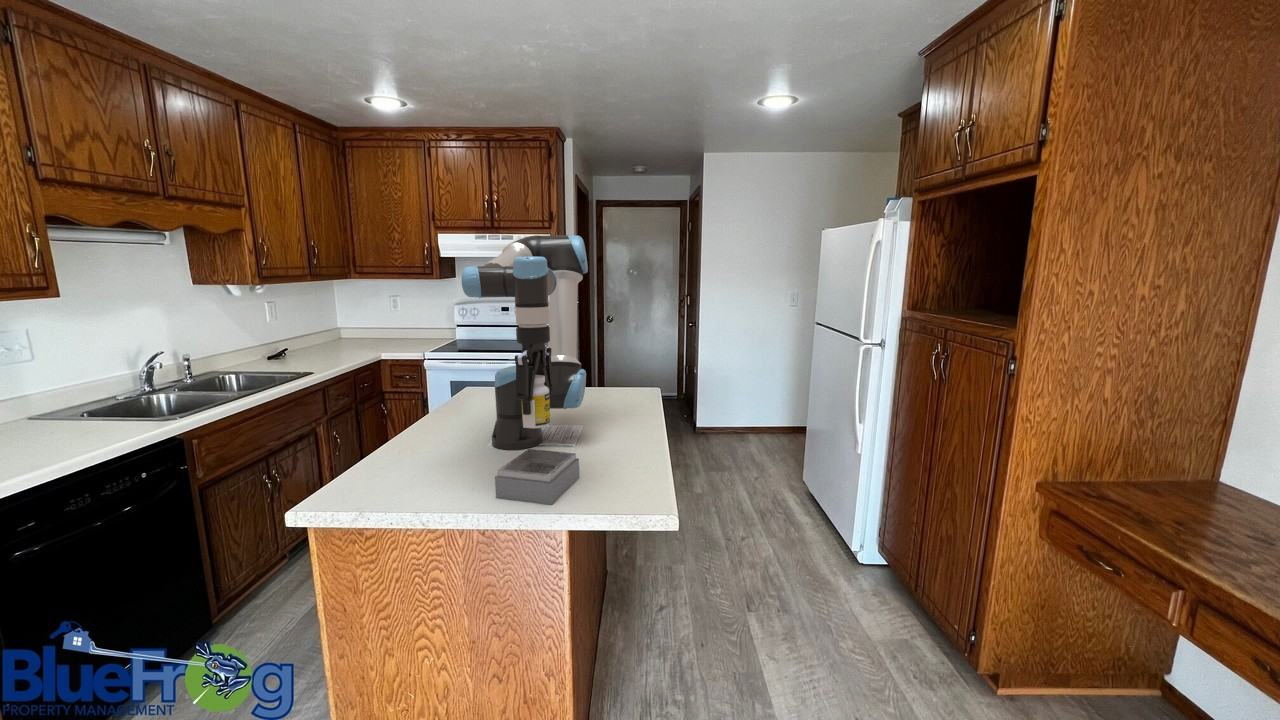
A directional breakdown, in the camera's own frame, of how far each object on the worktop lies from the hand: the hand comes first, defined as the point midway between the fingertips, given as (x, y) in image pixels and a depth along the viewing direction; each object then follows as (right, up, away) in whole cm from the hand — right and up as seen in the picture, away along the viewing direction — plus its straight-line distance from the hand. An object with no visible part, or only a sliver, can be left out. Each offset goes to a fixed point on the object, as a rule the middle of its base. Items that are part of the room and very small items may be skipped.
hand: (536, 423), depth 123 cm
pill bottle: (0, -1, 0) cm, 1 cm away
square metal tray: (-1, -16, +3) cm, 16 cm away
